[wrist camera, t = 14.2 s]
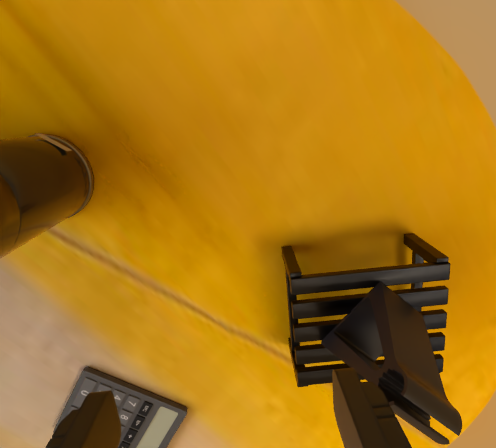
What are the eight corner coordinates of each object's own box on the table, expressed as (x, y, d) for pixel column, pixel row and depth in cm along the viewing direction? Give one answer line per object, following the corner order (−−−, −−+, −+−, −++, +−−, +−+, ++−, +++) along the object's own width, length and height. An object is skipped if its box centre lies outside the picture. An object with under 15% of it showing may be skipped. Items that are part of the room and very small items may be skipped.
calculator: (82, 370, 47) (187, 413, 49) (85, 366, 48) (188, 408, 50) (51, 434, 50) (152, 471, 52) (55, 428, 51) (153, 465, 53)
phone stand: (380, 280, 36) (445, 357, 25) (421, 313, 38) (501, 401, 26) (320, 341, 38) (355, 439, 27) (360, 370, 39) (410, 476, 28)
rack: (288, 345, 48) (298, 389, 40) (281, 246, 44) (290, 274, 36) (409, 333, 48) (442, 375, 40) (413, 233, 43) (451, 258, 36)
